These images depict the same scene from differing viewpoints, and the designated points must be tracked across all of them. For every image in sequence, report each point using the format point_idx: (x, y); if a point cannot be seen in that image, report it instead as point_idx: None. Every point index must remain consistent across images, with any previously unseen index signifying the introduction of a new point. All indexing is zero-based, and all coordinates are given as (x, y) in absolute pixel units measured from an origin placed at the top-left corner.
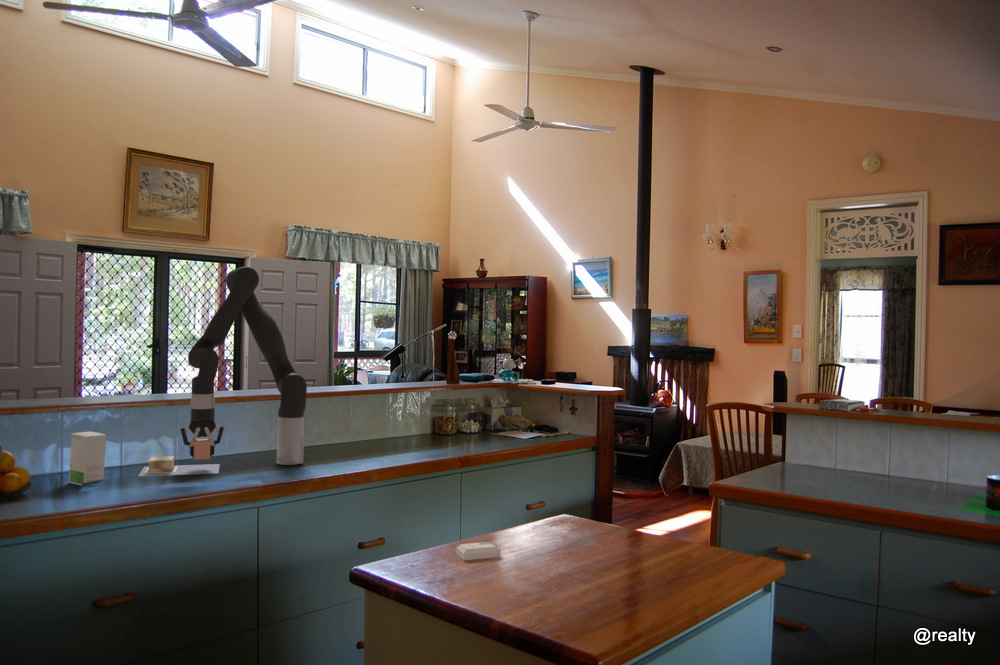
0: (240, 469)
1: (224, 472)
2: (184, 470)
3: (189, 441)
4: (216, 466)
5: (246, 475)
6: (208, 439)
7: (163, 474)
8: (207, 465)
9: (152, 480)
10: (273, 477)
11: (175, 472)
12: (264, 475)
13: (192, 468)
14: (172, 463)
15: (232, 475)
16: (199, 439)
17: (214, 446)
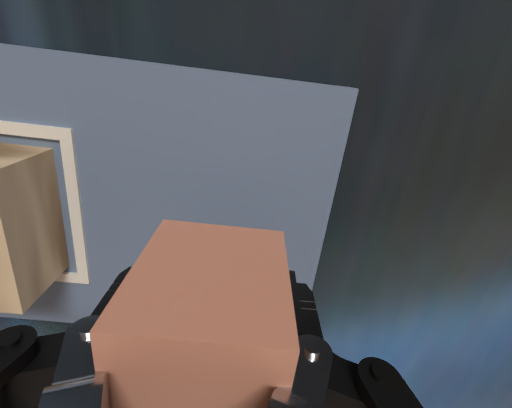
0: (449, 190)
1: (344, 244)
2: (131, 239)
3: (45, 378)
4: (320, 174)
5: (421, 331)
6: (267, 388)
7: (39, 306)
8: (269, 121)
9: (14, 320)
10: (505, 388)
11: (90, 277)
12: (491, 350)
13: (173, 197)
14: (37, 272)
15: (363, 316)
16: (154, 357)
17: (321, 335)
